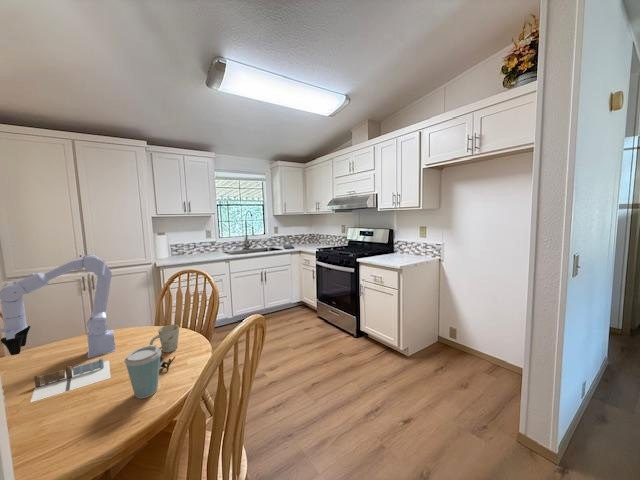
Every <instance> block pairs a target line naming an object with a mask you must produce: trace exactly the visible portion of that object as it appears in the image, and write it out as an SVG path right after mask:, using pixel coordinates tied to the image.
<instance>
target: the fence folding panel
mask: <svg viewBox="0 0 640 480" xmlns="http://www.w3.org/2000/svg"><path fill="white" fill-rule="evenodd" d="M103 362H104V358H103V357H102V358H99V359H97V360H95V361H89V362H88V363H82V364H79V365H76V366H74V367H73V366H72V370H73V375H78V374H83V373H85V372H88V371H93V370H95V369H99V368H100V369H101V368H104V363H103Z"/></svg>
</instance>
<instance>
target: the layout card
mask: <svg viewBox="0 0 640 480" xmlns="http://www.w3.org/2000/svg"><path fill="white" fill-rule="evenodd" d="M103 363H104V368H101V369H100V368H99V369H95V370H93V371H88V372H85V373H83V374H78V375H73V369H72V378H70V379H67V378H66V371H64V372H65V378H64V379H60V381H59V382H57V381H53V382H49V384H48V385H45V384H42V385H40V387H38V388H36V387H34V390H33V392H32V395H31V399H30V404H31V403H33V402H37V401H40V400H42V399H46V398H49V397H54V396H57V395H60V394H62V393H63V394H64V393H66V392H69V391H72V390H76V389H79V388H83V387H86V386H89V385H92V384H96V383H99V382H102V381H106V380H109V379H111V377H112V376H111V367H110V360H105V361H103Z"/></svg>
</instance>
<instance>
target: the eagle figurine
mask: <svg viewBox="0 0 640 480" xmlns="http://www.w3.org/2000/svg"><path fill="white" fill-rule="evenodd" d="M174 359H176V356H175V355H174V356H173V358H168V362H166V361H164V358H163V357H162V356H161V357H160V368H161V367H162V368H163V369H166V371H167V372H168V371H169V368H170V366H171V364H172V363H173V361H174Z"/></svg>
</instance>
